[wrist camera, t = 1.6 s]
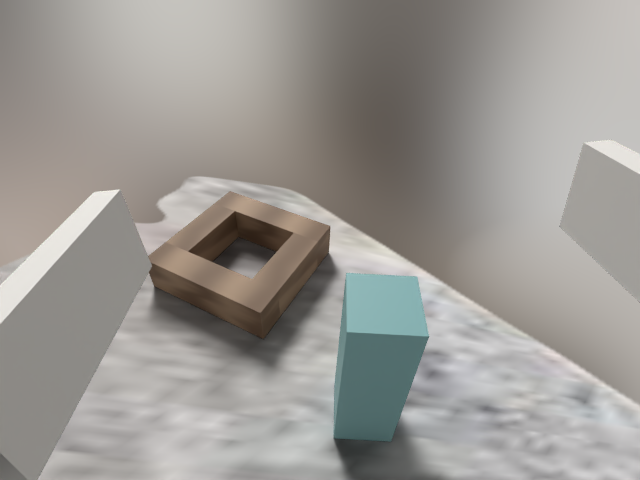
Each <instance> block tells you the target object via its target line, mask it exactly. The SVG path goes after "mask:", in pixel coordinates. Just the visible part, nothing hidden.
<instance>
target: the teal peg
mask: <svg viewBox="0 0 640 480" xmlns="http://www.w3.org/2000/svg"><path fill="white" fill-rule="evenodd" d="M428 338H429V334H428V329H427V324H426V319H425V314H424V309H423V304H422V299H421V294H420V289H419V284H418V279H417V277H414V276H394V275H375V274H356V273H346V280H345V290H344V299H343V309H342V318H341V328H340V337H339V347H338V356H337V366H336V375H335V386H334V438H337V439H354V440H371V441H388V442H391V440H392V437H393V435H394V432H395V429H396V426H397V423H398V421H399V418H400V415H401V412H402V410H403V407H404V404H405V401H406V399H407V396H408V393H409V390H410V388H411V385H412V382H413V379H414V376H415V374H416V371H417V368H418V365H419V363H420V360H421V357H422V354H423V352H424V349H425V346H426V343H427V341H428Z"/></svg>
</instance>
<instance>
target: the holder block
mask: <svg viewBox="0 0 640 480" xmlns="http://www.w3.org/2000/svg"><path fill="white" fill-rule="evenodd" d="M238 237H240V238H243V239H245V240H248V241H250V242H253V243H256V244H258V245H261V246H263V247H266V248H268V249H271V250H273V251H276V253H275V254H274V255H273V257H272V258H271V259H270V260H269V261H268V262H267V263H266V264H265V265H264V266H263V268H262V269H261V270H260V271H259V272H258V273H257V274H256V275H255V276H254V278H253V279H250V278H248V277H246V276H243V275H241V274H239V273H236V272H234V271H232V270H229V269H227V268H225V267H222V266H220V265H218V264H216V263H213V261H214V260H215V259H216V258H217V257H218V256H219V255H220V254H221V253H222V252H223V251H224V250H225V249H226V248H227V247H228V246H230V245H231V244H232V243H233V242H234V241H235V240H236V239H237V238H238ZM329 240H330V226H328V225H325V224H322V223H320V222H317V221H314V220H311V219H308V218H305V217H302V216H300V215H297V214H294V213H291V212H288V211H285V210H282V209H279V208H277V207H274V206H271V205H268V204H265V203H262V202H259V201H257V200H254V199H251V198H248V197H245V196H242V195H239V194H236V193H234V192H231V191H230V192H229V193H227V194H226V195H225V196H224V197H222V198H221V199H220V200H218V201H217V202H216V203H215V204H213V205H212V206H211V207H210V208H208V209H207V210H206V211H205V212H203V213H202V214H201V215H200V216H198V217H197V218H196V219H194V220H193V221H192V222H191V223H189V224H188V225H187V226H186V227H184V228H183V229H182V230H181V231H179V232H178V233H177V234H176V235H174V236H173V237H172V238H171V239H169V240H168V241H167V242H165V243H164V244H163V245H162V246H160V247H159V248H158V249H157V250H155V251H154V252H153V253H152V254H150V255H149V256H148V257H149V260H150V262H151V265H152V267H151V269H150V271H149V274H150V276H151V279H152V282H153V284H154V286H155V287H157V288H159V289H161V290H163V291H165V292H167V293H169V294H171V295H173V296H176V297H178V298H180V299H182V300H184V301H186V302H188V303H190V304H192V305H194V306H196V307H198V308H200V309H202V310H204V311H206V312H208V313H210V314H213V315H215V316H217V317H219V318H221V319H223V320H225V321H227V322H229V323H231V324H233V325H235V326H237V327H239V328H241V329H243V330H245V331H247V332H249V333H252V334H254V335H256V336H258V337H260V338H262V339H264V338H265V336H266V335H267V334H268V332H269V331H270V330H271V328H272V327H273V326H274V324H275V323H276V322H277V320H278V319H279V318H280V316H281V315H282V314H283V312H284V311H285V310H286V308H287V307H288V306H289V304H290V303H291V302H292V300H293V299H294V298H295V296H296V295H297V294H298V292H299V291H300V290H301V288H302V287H303V286H304V284H305V283H306V282H307V280H308V279H309V278H310V276H311V275H312V274H313V272H314V271H315V270H316V268H317V267H318V266H319V264H320V263H321V262H322V260H323V259H324V258H325V256H326V255H327V254H328V252H329Z"/></svg>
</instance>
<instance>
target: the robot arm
mask: <svg viewBox="0 0 640 480" xmlns="http://www.w3.org/2000/svg"><path fill="white" fill-rule="evenodd" d="M559 227H560V228H561V229H562V230H563V231H565V232H566V233H567V234H568V235H569V236H570V237H571V238H572V239H573V240H574V241H575V242H576V243H577V244H578V245H579V246H580V247H582V248H583V249H584V250H585V251H586V252H587V253H588V254H589V255H590V256H591V257H592V258H593V259H594V260H595V261H596V262H597V263H598V264H600V265H601V266H602V267H603V268H604V269H605V270H606V271H607V272H608V273H609V274H610V275H611V276H612V277H613V278H614V279H615V280H616V281H618V282H619V283H620V284H621V285H622V286H623V287H624V288H625V289H626V290H627V291H628V292H629V293H630V294H631V295H632V296H633V297H635V298H636V299H637V300H638V301H639V302H640V154H638V153H636V152H634V151H632V150H630V149H628V148H626V147H624V146H622V145H621V144H618V143H616V142H615V141H613V140H605V141H595V142H586V143H583V146H582V150H581V153H580V157H579V160H578V164H577V167H576V171H575V175H574V178H573V181H572V185H571V188H570V192H569V195H568V198H567V202H566V205H565V209H564V212H563V216H562V220H561V223H560V226H559ZM151 267H152V265H151V262H150V260H149V257H148V255H147V253H146V250H145V248H144V245H143V243H142V241H141V238H140V236H139V233H138V231H137V228H136V226H135V224H134V221H133V219H132V216H131V214H130V212H129V209H128V207H127V204H126V202H125V199H124V197H123V195H122V192H121V190H111V191H101V192H94V193H93V194H92V195H91V196H90V197H89V198H88V199H87V200H86V201H85V202H84V203H83V204H82V205H81V206H80V207H79V208H78V209H77V210H76V211H75V212H74V213H73V214H72V215H71V216H70V217H69V218H67V219H66V220H65V222H63V223H62V224H61V225H60V226H59V228H57V229H56V230H55V231H54V232H53V233H52V234H51V235H50V236H49V238H47V239H46V241H44V242H43V243H42V244H41V245H40V246H39V247H38V248H37V249H36V250H35V251H34V252H33V253H32V254H31V255H30V256H29V257H28V258H27V259H26V260H25V261H24V262H23V263H22V264H21V265H20V266H19V267H18V268H17V269H16V270H15V271H14V272H13V273H12V274H11V275H10V276H9V277H8V278H7V279H6V280H5V281H4V282H3V283H2V284H1V285H0V480H37V479H38V478H39V476H40V474H41V472H42V470H43V468H44V466H45V465H46V463H47V461H48V459H49V457H50V455H51V453H52V451H53V450H54V448H55V446H56V444H57V442H58V440H59V438H60V437H61V435H62V433H63V431H64V429H65V427H66V425H67V424H68V422H69V420H70V418H71V416H72V414H73V412H74V411H75V409H76V407H77V405H78V403H79V401H80V399H81V397H82V396H83V394H84V392H85V390H86V388H87V386H88V384H89V383H90V381H91V379H92V377H93V375H94V373H95V371H96V370H97V368H98V366H99V364H100V362H101V360H102V358H103V357H104V355H105V353H106V351H107V349H108V347H109V345H110V344H111V342H112V340H113V338H114V336H115V334H116V332H117V330H118V329H119V327H120V325H121V323H122V321H123V319H124V317H125V316H126V314H127V312H128V310H129V308H130V306H131V304H132V303H133V301H134V299H135V297H136V295H137V293H138V291H139V290H140V288H141V286H142V284H143V282H144V280H145V278H146V276H147V275H148V273H149V271H150V269H151Z"/></svg>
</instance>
